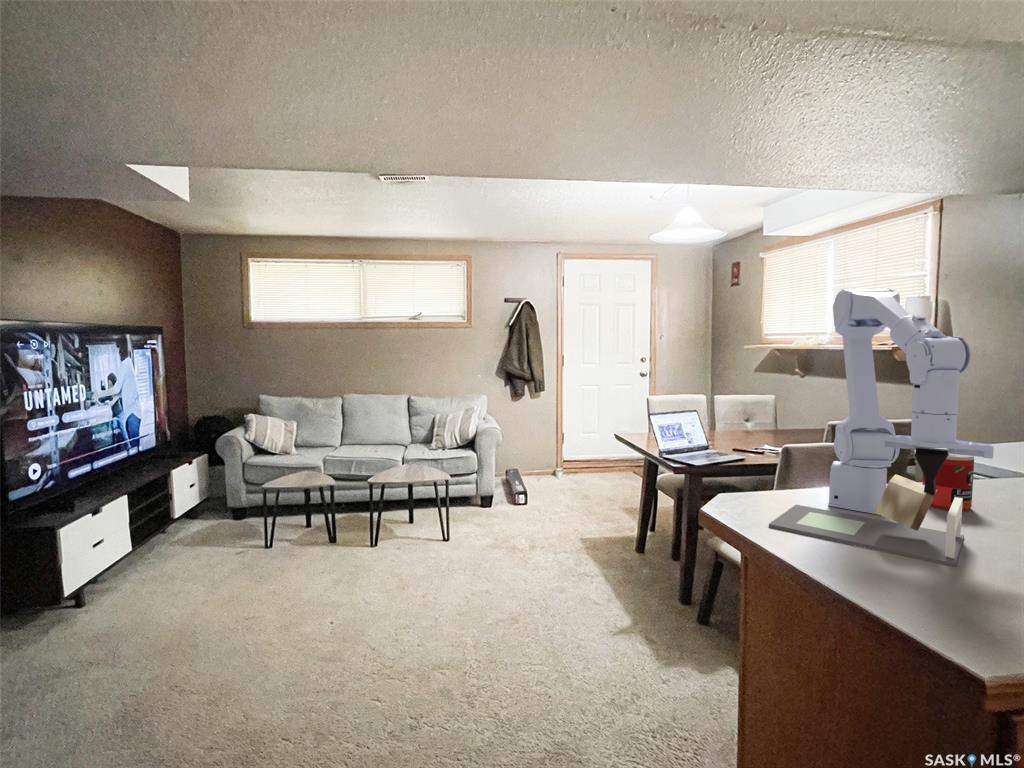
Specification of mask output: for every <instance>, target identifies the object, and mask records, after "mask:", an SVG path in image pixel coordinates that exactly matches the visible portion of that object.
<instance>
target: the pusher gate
mask: <svg viewBox="0 0 1024 768" xmlns="http://www.w3.org/2000/svg"><path fill="white" fill-rule="evenodd" d="M962 502H963V498H957V497H955V498H954V500H953V503H952V505H951V507H950V510H949V511H948V512H947V514H946V529H945V530H946V531H945V532H946V548H945V556H948V557H953V558H954V551H955V536H961V535H962V520H963V519H962V518H963V515H962V514H963V512H962Z"/></svg>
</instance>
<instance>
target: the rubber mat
mask: <svg viewBox="0 0 1024 768" xmlns="http://www.w3.org/2000/svg"><path fill="white" fill-rule="evenodd" d="M768 528H771V529H776V530H781V531H786V532H790V533H795V534H798V535H799V534H800V535H805V536H809V537H814V538H818V539H822V540H825V541H832V542H835V543H840V542H841V544H845V545H849V544H850V546H854V545H856V546H855V547H859V546H861V547H860V548H864V547H865V548H864V549H868V548H870V549H869V550H873V549H875V550H874V551H878V550H880V551H879V552H883V551H884V552H883V553H888V554H893V555H898V556H903V557H907V558H912V559H917V560H921V561H922V560H923V561H925V562H926V561H927V562H930V563H935V564H940V565H945V566H949V567H950V566H951V567H955V568H956V567H957V566H956V565H957V563H958V559H959V556H960V552H961V550H962V549H961V548H962V546H963V542H964V539H965V535H964V534H961V536H955V551H954V558H953V557H948V556H945V548H946V531H942V530H938V529H937V530H936V529H932V528H926V527H921V526H920V527H919V529H918V531H916V530H914V529H912V528H909V527H907V526H905V525H902V524H900V523H898V522H895V521H888V520H882V519H878V518H871V517H866V516H860V515H855V514H850V513H846V512H845V513H844V512H839V511H834V510H833V511H832V510H829V509H828V510H827V509H822V508H817V507H812V506H805V505H800V504H795V505H793V506H791V508H788V510H786V511H785V512H784V513H782V514H780V515H779V516H778V517H776V518H775V519H773V521H771V522H769V523H768Z"/></svg>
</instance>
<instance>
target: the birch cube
mask: <svg viewBox="0 0 1024 768" xmlns="http://www.w3.org/2000/svg"><path fill="white" fill-rule="evenodd" d="M924 486H925V485H923V484H922V483H920V482H917V481H915V480H912V479H909V478H907V477H904V476H902V475H899V474H896V473H895V474H894V475H892V477H891V478H890V479H889V481H888V483H887V484H886V489H885V492H884V494H883V496H882V499H881V501H880V503H879V505H878V508H877V510H876V512H875V513H877V514H876V515H878V514H879V515H878V516H882V517H883V518H886V519H889V520H890V521H892V522H894V523H900V524H902V525H905V526H907V527H909V528H912V529H914V530H916V531H918V529H919V527H921V526H922V524H923V521H924V520H925V518H926V515H927V513H928V511H929V509H930V508H931V507H930V505H931V503H932V501H933V497H934V495H931V494H929V493H926V492H924ZM936 492H937V490H936ZM935 494H936V493H935Z"/></svg>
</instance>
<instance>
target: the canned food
mask: <svg viewBox="0 0 1024 768" xmlns="http://www.w3.org/2000/svg"><path fill="white" fill-rule="evenodd" d="M948 454H949V455H948V457H947V459H946V460H945V461H944V463H943V464H942V466H941V468H940V470H939V471H938V473H937V475H936V490H937V492H936V495H935V497H934V498H933V501H932V503H931V505H930V507H929V508H932V507H933V509H936V508H937V510H941V511H947V510H948V512H949V510H950V507H951V505H952V503H953V500H954V498H955V497H957V498H963V502H962V511H964V512H969V511H971V508H972V505H973V504H972V503H973V488H974V487H973V486H974V471H975V456H969V455H959V454H950V453H948ZM921 484H923V485H925V477H924V474H923V473H922V483H921ZM968 510H969V511H968Z"/></svg>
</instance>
